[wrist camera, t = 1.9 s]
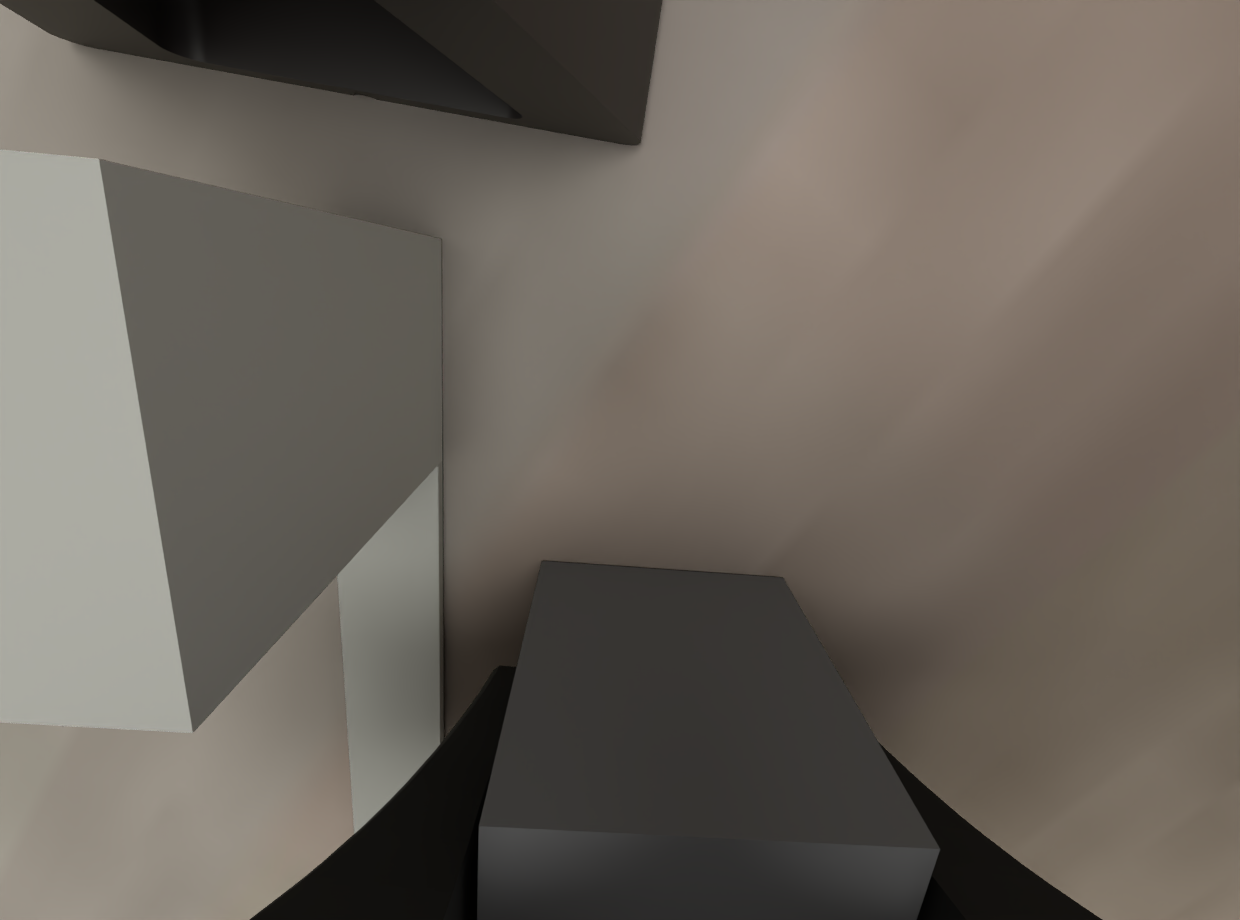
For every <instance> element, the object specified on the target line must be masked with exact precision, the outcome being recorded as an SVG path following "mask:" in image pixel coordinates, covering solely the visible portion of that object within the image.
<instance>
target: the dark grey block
mask: <svg viewBox="0 0 1240 920" xmlns="http://www.w3.org/2000/svg"><path fill="white" fill-rule="evenodd" d="M939 851H940V848H939V846H938V844H937V843H936V841H935V839H934V838H933V836H932V834H931V832H930V831H929V829H928V827H927V825H926V824H925V822H924V820H923V819H922V817H921V815H920V813H919V812H918V810H917V808H916V807H915V805H914V803H913V801H912V800H911V798H910V796H909V794H908V793H907V791H906V789H905V788H904V786H903V784H902V782H901V781H900V779H899V777H898V775H897V774H896V772H895V770H894V769H893V767H892V765H891V763H890V762H889V760H888V758H887V756H886V755H885V753H884V751H883V750H882V748H881V746H880V744H879V743H878V741H877V739H876V738H875V736H874V734H873V732H872V731H871V729H870V727H869V725H868V724H867V722H866V720H865V719H864V717H863V715H862V713H861V712H860V710H859V708H858V706H857V705H856V703H855V701H854V700H853V698H852V696H851V694H850V693H849V691H848V689H847V687H846V686H845V684H844V682H843V681H842V679H841V677H840V675H839V674H838V672H837V670H836V669H835V667H834V665H833V663H832V662H831V660H830V658H829V656H828V655H827V653H826V651H825V650H824V648H823V646H822V644H821V643H820V641H819V639H818V637H817V636H816V634H815V632H814V631H813V629H812V627H811V625H810V624H809V622H808V620H807V619H806V617H805V615H804V613H803V612H802V610H801V608H800V606H799V605H798V603H797V601H796V600H795V598H794V596H793V594H792V593H791V591H790V589H789V587H788V586H787V584H786V582H785V581H784V579H783V578H781V577H766V576H752V575H738V574H723V573H709V572H694V571H680V570H666V569H651V568H637V567H623V566H608V565H594V564H580V563H565V562H551V561H542V563H541V567H540V571H539V575H538V579H537V584H536V588H535V592H534V596H533V600H532V605H531V609H530V613H529V617H528V621H527V626H526V630H525V634H524V638H523V642H522V647H521V651H520V655H519V659H518V663H517V668H516V672H515V676H514V680H513V684H512V689H511V693H510V697H509V701H508V706H507V710H506V714H505V718H504V722H503V727H502V731H501V735H500V739H499V743H498V748H497V752H496V756H495V760H494V764H493V769H492V773H491V777H490V781H489V785H488V790H487V794H486V798H485V802H484V806H483V811H482V815H481V819H480V823H479V843H478V897H477V920H917V917H918V914H919V911H920V908H921V905H922V902H923V899H924V896H925V893H926V890H927V887H928V884H929V881H930V878H931V875H932V872H933V869H934V866H935V863H936V860H937V857H938V854H939Z"/></svg>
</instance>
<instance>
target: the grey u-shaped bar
mask: <svg viewBox="0 0 1240 920" xmlns="http://www.w3.org/2000/svg"><path fill="white" fill-rule="evenodd" d="M336 576H337V579H338V594H339V610H340V625H341V640H342V655H343V671H344V686H345V701H346V716H347V732H348V747H349V762H350V777H351V792H352V808H353V823H354V834H355V833H356V832H357V831H358V830H359V829H360V828H362V827H363V826H364V825H365V824H366V823H367V822H368V821H369V820H370V819H371V818H372V817H373V816H374V815H375V814H376V813H377V812H378V811H379V810H380V809H381V808H382V807H383V806H384V805H385V804H386V803H387V802H388V801H389V800H390V799H391V798H392V797H393V796H394V795H395V794H396V793H397V792H398V791H399V790H400V789H401V788H402V787H403V786H404V785H405V784H406V783H407V781H408V780H409V779H410V778H411V777H412V776H413V775H414V774H415V772H416V771H417V770H418V769H419V768H420V767H421V766H422V765H423V763H424V762H425V761H426V760H427V759H428V758H429V757H430V756H431V754H432V753H433V752H434V751H435V750H436V749H437V747H438V746H439V745H440V744H441V743H442V741H443V740H444V677H443V468H442V259H441V239H440V238H435V237H431V236H427V235H423V234H418V233H414V232H410V231H406V230H401V229H397V228H393V227H388V226H384V225H380V224H376V223H371V222H367V221H363V220H358V219H354V218H350V217H346V216H341V215H337V214H333V213H328V212H324V211H320V210H316V209H311V208H307V207H303V206H298V205H294V204H290V203H286V202H281V201H277V200H273V199H269V198H264V197H260V196H256V195H251V194H247V193H243V192H239V191H234V190H230V189H226V188H221V187H217V186H213V185H209V184H204V183H200V182H196V181H191V180H187V179H183V178H179V177H174V176H170V175H166V174H161V173H157V172H153V171H149V170H144V169H140V168H136V167H132V166H127V165H123V164H119V163H114V162H110V161H106V160H102V159H95V158H85V157H74V156H64V155H53V154H43V153H33V152H22V151H12V150H2V149H0V722H2V723H20V724H38V725H56V726H74V727H92V728H110V729H128V730H146V731H164V732H182V733H193V732H194V731H195V730H196V729H197V728H198V727H199V726H200V725H201V724H202V723H203V721H204V720H205V719H206V718H207V717H208V716H209V715H210V714H211V713H212V712H213V711H214V709H215V708H216V707H217V706H218V705H219V704H220V703H221V702H222V701H223V700H224V698H225V697H226V696H227V695H228V694H229V693H230V692H231V691H232V690H233V689H234V688H235V686H236V685H237V684H238V683H239V682H240V681H241V680H242V679H243V678H244V677H245V676H246V674H247V673H248V672H249V671H250V670H251V669H252V668H253V667H254V666H255V665H256V664H257V662H258V661H259V660H260V659H261V658H262V657H263V656H264V655H265V654H266V653H267V651H268V650H269V649H270V648H271V647H272V646H273V645H274V644H275V643H276V642H277V641H278V639H279V638H280V637H281V636H282V635H283V634H284V633H285V632H286V631H287V630H288V629H289V627H290V626H291V625H292V624H293V623H294V622H295V621H296V620H297V619H298V618H299V617H300V615H301V614H302V613H303V612H304V611H305V610H306V609H307V608H308V607H309V606H310V604H311V603H312V602H313V601H314V600H315V599H316V598H317V597H318V596H319V595H320V594H321V592H322V591H323V590H324V589H325V588H326V587H327V586H328V585H329V584H330V583H331V582H332V580H333V579H334V578H335V577H336Z"/></svg>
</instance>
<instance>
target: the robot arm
mask: <svg viewBox="0 0 1240 920" xmlns="http://www.w3.org/2000/svg"><path fill="white" fill-rule="evenodd" d="M516 668H517V667H509V666H499V667H497V668H496V669H495V670H493V672H492V674H491V675H490V677H489V679H488V680H487V682H486V683H485V685H484V686H483V688H482V689H481V691H480V692H479V694H478V695H477V697H476V698H475V700H474V701H473V702H472V704H471V705H470V706H469V708H468V709H467V711H466V712H465V713H464V715H463V716H462V717H461V719H460V720H459V721H458V722H457V724H456V725H455V726H454V727H453V729H452V730H451V731H450V733H449V734H448V735H447V736H446V738H445V739H444V740H443V741H442V743H441V744H440V745H439V746H438V747H437V749H436V750H435V751H434V752H433V753H432V754H431V756H430V757H429V758H428V759H427V760H426V761H425V762H424V763H423V765H422V766H421V767H420V768H419V769H418V770H417V771H416V772H415V774H414V775H413V776H412V777H411V778H410V779H409V780H408V781H407V783H406V784H405V785H404V786H403V787H402V788H401V789H400V790H399V791H398V792H397V793H396V794H395V795H394V796H393V797H392V798H391V799H390V800H389V801H388V802H387V803H386V804H385V805H384V806H383V807H382V808H381V809H380V810H379V811H378V812H377V813H376V814H375V815H374V816H373V817H372V818H371V819H370V820H369V821H368V822H367V823H366V824H365V825H364V826H363V827H362V828H360V829H359V830H358V831H357V832H356V833H355V834H354V835H353V836H352V837H350V838H349V839H348V840H347V841H346V842H345V843H344V844H343V845H341V846H340V847H339V848H338V849H337V850H336V851H335V852H334V853H332V854H331V855H330V856H329V857H328V858H327V859H326V860H325V861H323V862H322V863H321V864H320V865H319V866H317V867H316V868H315V869H314V870H313V871H311V872H310V873H309V874H308V875H307V876H305V877H304V878H303V879H302V880H300V881H299V882H298V883H297V884H295V885H294V886H293V887H291V888H290V889H289V890H288V891H286V892H285V893H284V894H282V895H281V896H280V897H278V898H277V899H276V900H274V901H273V902H272V903H271V904H269V905H268V906H267V907H265V908H264V909H263V910H261V911H260V912H259V913H258V914H256V915H255V916H254V917H252V918H251V919H250V920H477V897H478V843H479V823H480V819H481V815H482V811H483V806H484V802H485V798H486V794H487V790H488V785H489V781H490V777H491V773H492V769H493V764H494V760H495V756H496V752H497V748H498V743H499V739H500V735H501V731H502V727H503V722H504V718H505V714H506V710H507V706H508V701H509V697H510V693H511V689H512V684H513V680H514V676H515V672H516ZM878 743H879V742H878ZM879 744H880V743H879ZM880 746H881V748H882V750H883V751H884V753H885V755H886V756H887V758H888V760H889V762H890V763H891V765H892V767H893V769H894V770H895V772H896V774H897V775H898V777H899V779H900V781H901V782H902V784H903V786H904V788H905V789H906V791H907V793H908V794H909V796H910V798H911V800H912V801H913V803H914V805H915V807H916V808H917V810H918V812H919V813H920V815H921V817H922V819H923V820H924V822H925V824H926V825H927V827H928V829H929V831H930V832H931V834H932V836H933V838H934V839H935V841H936V843H937V844H938V846H939V848H940V851H939V854H938V857H937V860H936V863H935V866H934V869H933V872H932V875H931V878H930V881H929V884H928V887H927V890H926V893H925V896H924V899H923V902H922V905H921V908H920V911H919V914H918V917H917V920H1102V919H1100V918H1099V917H1097V916H1096V915H1094V914H1093V913H1091V912H1090V911H1088V910H1087V909H1086V908H1084V907H1083V906H1081V905H1080V904H1078V903H1077V902H1075V901H1074V900H1072V899H1071V898H1069V897H1068V896H1066V895H1065V894H1063V893H1062V892H1061V891H1059V890H1058V889H1056V888H1055V887H1053V886H1052V885H1050V884H1049V883H1047V882H1046V881H1045V880H1043V879H1042V878H1040V877H1039V876H1038V875H1036V874H1035V873H1033V872H1032V871H1031V870H1029V869H1028V868H1026V867H1025V866H1024V865H1022V864H1021V863H1020V862H1018V861H1017V860H1016V859H1014V858H1013V857H1012V856H1011V855H1009V854H1008V853H1007V852H1005V851H1004V850H1003V849H1001V848H1000V847H999V846H998V845H996V844H995V843H994V842H992V841H991V840H990V839H988V838H987V837H986V836H984V835H983V834H982V833H981V832H979V831H978V830H977V829H976V828H974V827H973V826H972V825H971V824H969V823H968V822H967V821H966V820H965V819H963V818H962V817H961V816H960V815H958V814H957V813H956V812H955V811H954V810H953V809H952V808H950V807H949V806H948V805H947V804H946V803H945V802H943V801H942V800H941V799H940V798H939V797H938V796H936V795H935V794H934V793H933V792H932V791H931V790H929V789H928V788H927V787H926V786H925V785H924V784H923V783H922V782H921V781H919V780H918V779H917V778H916V777H915V776H914V775H913V774H912V773H911V772H909V771H908V770H907V769H906V768H905V767H904V766H903V765H902V764H901V763H900V762H899V761H898V760H897V759H896V758H894V757H893V756H892V755H891V754H890V753H889V752H888V751H887V750H886V749H885V748H884V747H883V746H882V745H881V744H880Z"/></svg>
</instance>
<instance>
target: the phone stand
mask: <svg viewBox="0 0 1240 920" xmlns="http://www.w3.org/2000/svg"><path fill="white" fill-rule="evenodd" d="M0 4H2V5H4V6H5V7H7V8H9V9H10V10H12V11H13V12H15V13H17V14H18V15H20V16H22V17H23V18H25V19H26V20H28V21H30V22H31V23H33V24H35V25H36V26H38V27H40V28H41V29H43V30H44V31H46V32H48V33H50V34H52V35H54V36H57V37H59V38H62V39H65V40H68V41H71V42H74V43H77V44H81V45H84V46H88V47H92V48H97V49H103V50H108V51H114V52H119V53H124V54H130V55H135V56H141V57H146V58H152V59H157V60H163V61H168V62H174V63H179V64H185V65H190V66H196V67H201V68H207V69H212V70H218V71H223V72H229V73H234V74H240V75H245V76H251V77H256V78H262V79H267V80H273V81H278V82H284V83H289V84H295V85H300V86H306V87H311V88H316V89H322V90H327V91H333V92H338V93H344V94H349V95H354V93H357V94H363V95H367V96H371V97H373V98H375V99H377V100H382V101H388V102H393V103H399V104H404V105H410V106H415V107H421V108H426V109H432V110H437V111H443V112H448V113H454V114H459V115H465V116H470V117H476V118H481V119H487V120H492V121H497V122H503V123H508V124H514V125H519V126H525V127H530V128H536V129H541V130H547V131H552V132H558V133H563V134H569V135H574V136H580V137H585V138H591V139H596V140H602V141H607V142H613V143H618V144H625V145H636V144H640V143H641V136H642V130H643V123H644V117H645V110H646V104H647V97H648V90H649V84H650V77H651V71H652V64H653V58H654V51H655V44H656V38H657V31H658V25H659V18H660V12H661V5H662V0H0Z"/></svg>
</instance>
